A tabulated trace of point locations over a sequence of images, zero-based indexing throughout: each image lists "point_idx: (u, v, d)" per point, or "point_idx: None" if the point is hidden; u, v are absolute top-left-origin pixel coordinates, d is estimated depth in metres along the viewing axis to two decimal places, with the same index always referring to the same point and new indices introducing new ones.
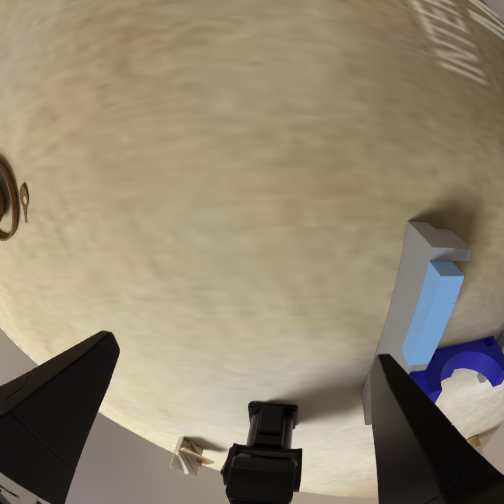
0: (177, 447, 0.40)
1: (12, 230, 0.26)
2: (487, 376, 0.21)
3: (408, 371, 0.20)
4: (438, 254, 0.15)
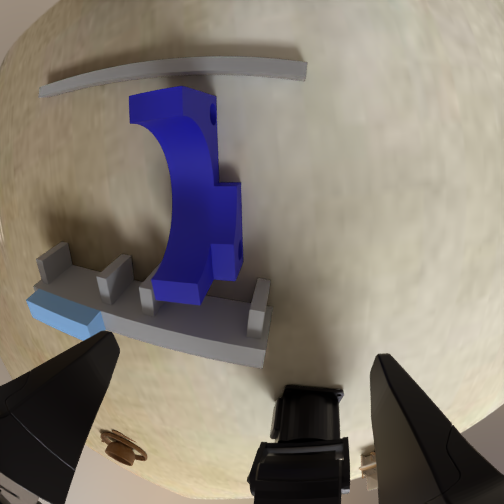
0: None
1: (137, 450, 0.44)
2: (189, 122, 0.13)
3: (134, 323, 0.19)
4: None
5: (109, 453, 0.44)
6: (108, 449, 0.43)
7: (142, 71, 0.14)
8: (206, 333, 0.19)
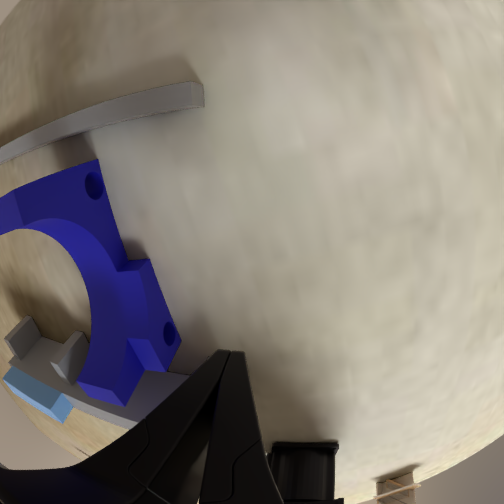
0: None
1: None
2: (49, 219, 0.09)
3: (91, 406, 0.15)
4: None
5: None
6: None
7: (28, 145, 0.11)
8: None
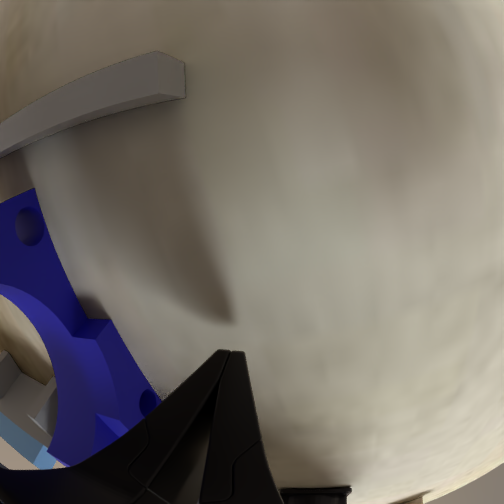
0: None
1: None
2: None
3: None
4: None
5: None
6: None
7: None
8: None
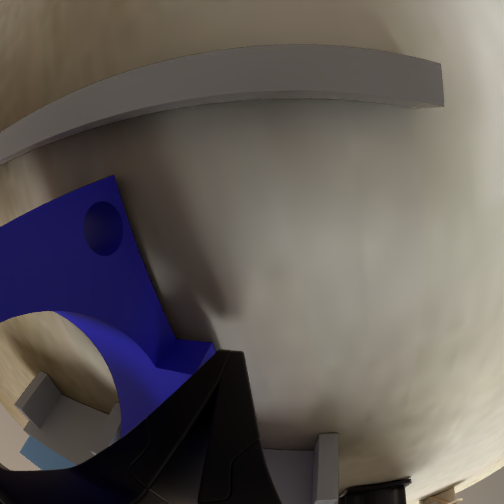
0: None
1: None
2: None
3: None
4: None
5: None
6: None
7: (34, 135, 0.06)
8: None
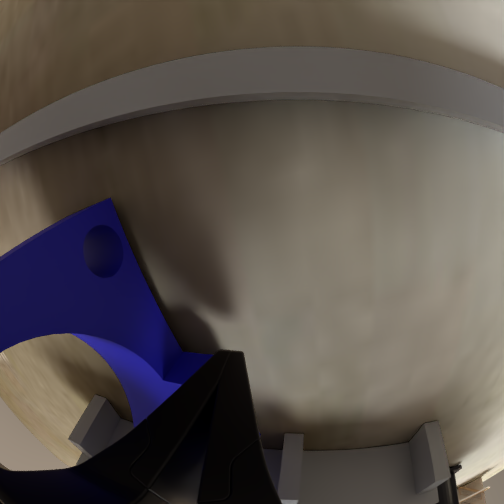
0: None
1: None
2: None
3: None
4: None
5: None
6: None
7: (240, 82, 0.05)
8: None
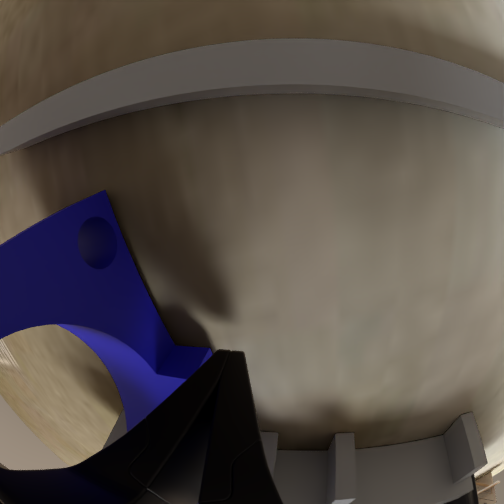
0: None
1: None
2: (19, 328, 0.04)
3: None
4: None
5: None
6: None
7: (380, 78, 0.04)
8: (415, 501, 0.08)
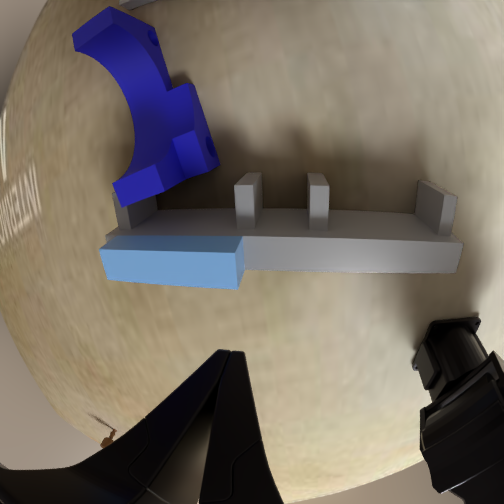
0: None
1: None
2: (125, 35, 0.11)
3: (304, 241, 0.14)
4: None
5: None
6: None
7: None
8: (400, 236, 0.14)
